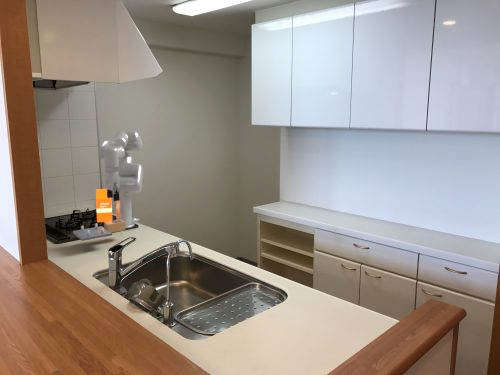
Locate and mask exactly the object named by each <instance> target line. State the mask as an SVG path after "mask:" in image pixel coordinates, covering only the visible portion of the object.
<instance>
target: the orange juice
mask: <svg viewBox="0 0 500 375" xmlns="http://www.w3.org/2000/svg"><path fill="white" fill-rule="evenodd" d="M95 203H96V204H95V205H96V221H97V223H104V222H109V221H113V206H112V204H113V203H112V198H107V189H106V188H101V189H99V188H98V189H97V188H96V189H95Z"/></svg>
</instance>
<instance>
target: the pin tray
mask: <svg viewBox="0 0 500 375" xmlns="http://www.w3.org/2000/svg"><path fill="white" fill-rule="evenodd" d="M72 233H73V235H74V236H76V237H77V238H78V239H79V240H80V241H82V242H83V241H84V242H85V241H91V240H95V239H99V238H105V237H111V236H113V232H112V233H111V232H110V231H108V230H107V229H105V228H104V226H102V225H101V226H98V222H97V223H94V227H89V228H84V225H81V226H80V229H78V230H73V231H72Z"/></svg>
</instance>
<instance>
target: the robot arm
mask: <svg viewBox="0 0 500 375" xmlns="http://www.w3.org/2000/svg"><path fill="white" fill-rule="evenodd" d="M142 149H143V140H142V138H141V136H140V134H139V132H138V131H136V130H118V131H117V132H116V134H115V135H114V137H113V138H110V139H108V140H105V141H103V142H102V143H101V144H100V146H99V147H98V150H97V151H98V152H97V153H98V156H99V158H101V160H104V173H105V174H104V187H105V188H104V189H107V198H111V199H112V198H113V202H115V214H116V215H115V217H116V219H115V220H123V221H124V222H125V229H129V228H130V229H131V228H133V227H134V226H135V223H136V222H140V218H134V217H133V216H132V213H133V212H132V198H131V196H130V195H129V193H131V194H135V193H141V191H142V189H143V180H144V179H143V177H144V168H143V165H142V164H141V163H133V157H132V155H130V153H128V152H127V151H129V152H130V151H133V152H134V151H135V152H137V151H140V150H142Z"/></svg>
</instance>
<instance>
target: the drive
mask: <svg viewBox="0 0 500 375" xmlns="http://www.w3.org/2000/svg"><path fill="white" fill-rule="evenodd" d="M103 227H104V228H105V229H107V230H108V231H110V232H111V233H112V234H113V233H116V232H123V231H126V228H125V222H124V221H123V220H116V219H115V220H112V221H109V222H103Z"/></svg>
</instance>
